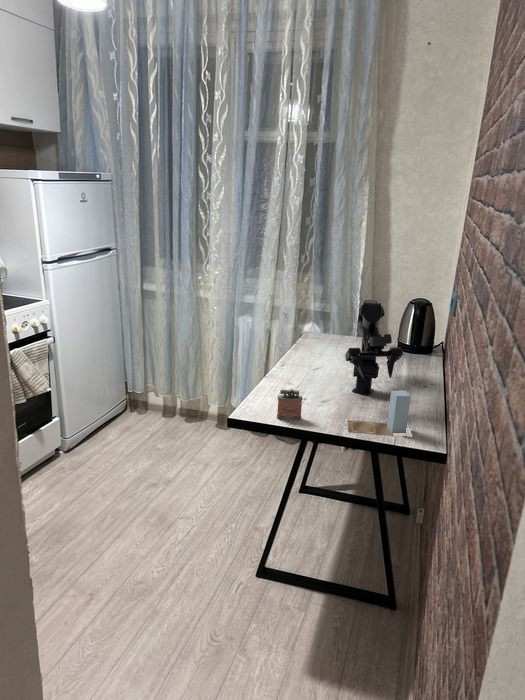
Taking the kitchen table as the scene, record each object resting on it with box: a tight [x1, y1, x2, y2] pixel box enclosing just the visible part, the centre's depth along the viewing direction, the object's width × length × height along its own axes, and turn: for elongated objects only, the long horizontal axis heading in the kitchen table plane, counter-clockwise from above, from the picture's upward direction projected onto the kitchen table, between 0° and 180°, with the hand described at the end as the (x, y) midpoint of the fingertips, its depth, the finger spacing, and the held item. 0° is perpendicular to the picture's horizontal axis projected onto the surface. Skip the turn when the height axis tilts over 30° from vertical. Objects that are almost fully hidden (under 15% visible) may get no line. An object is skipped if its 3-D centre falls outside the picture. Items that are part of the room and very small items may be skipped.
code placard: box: [346, 419, 395, 437], centre depth 171 cm, size 20×9×1 cm, turn 83°
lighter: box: [276, 388, 303, 421], centre depth 175 cm, size 8×3×10 cm, turn 92°
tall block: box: [386, 390, 411, 433], centre depth 169 cm, size 4×4×12 cm
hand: (377, 377), depth 180 cm, fingers open, 9 cm apart
